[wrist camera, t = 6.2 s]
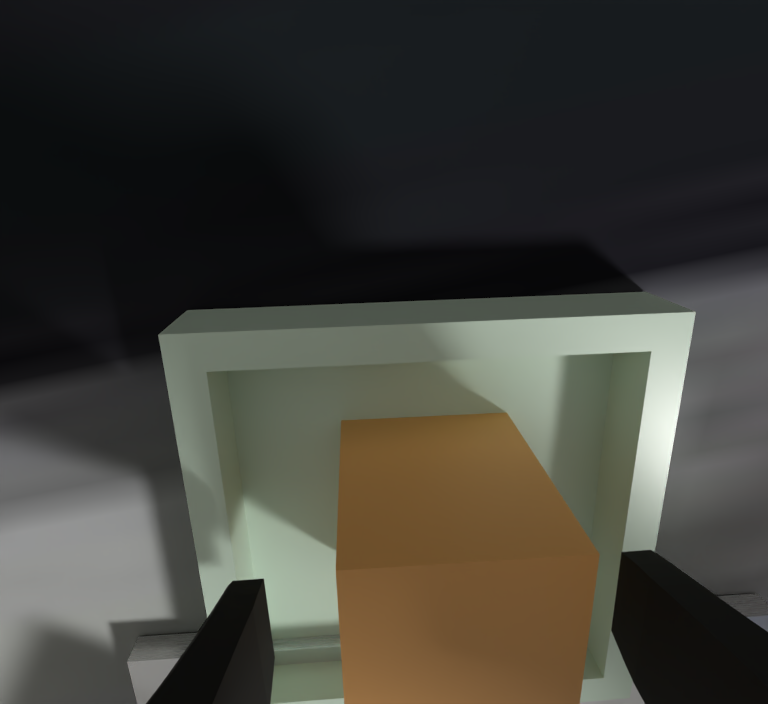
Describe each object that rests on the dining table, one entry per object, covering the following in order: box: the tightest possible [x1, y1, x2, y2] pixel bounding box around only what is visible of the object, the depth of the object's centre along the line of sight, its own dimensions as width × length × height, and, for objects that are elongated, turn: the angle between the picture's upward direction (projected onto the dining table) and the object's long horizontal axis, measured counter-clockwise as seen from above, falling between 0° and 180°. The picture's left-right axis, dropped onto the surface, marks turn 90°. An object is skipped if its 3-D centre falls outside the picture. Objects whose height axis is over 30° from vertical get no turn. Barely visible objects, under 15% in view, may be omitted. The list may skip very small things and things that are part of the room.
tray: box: [158, 292, 696, 704], centre depth 13 cm, size 11×11×2 cm
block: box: [336, 412, 600, 704], centre depth 11 cm, size 4×4×5 cm
